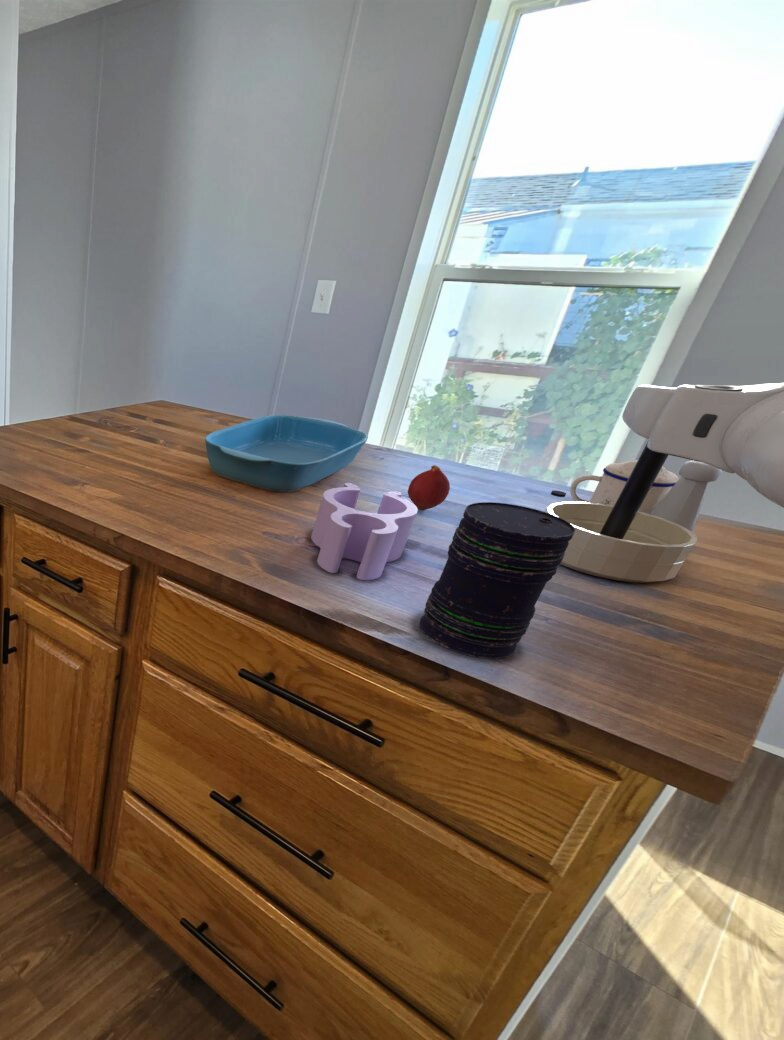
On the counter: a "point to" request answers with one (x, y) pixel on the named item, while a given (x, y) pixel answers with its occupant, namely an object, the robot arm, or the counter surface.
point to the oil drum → (494, 578)
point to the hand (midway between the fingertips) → (738, 404)
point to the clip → (361, 530)
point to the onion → (429, 488)
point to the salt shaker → (687, 494)
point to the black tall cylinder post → (633, 493)
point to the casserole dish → (282, 451)
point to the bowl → (623, 544)
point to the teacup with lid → (616, 481)
